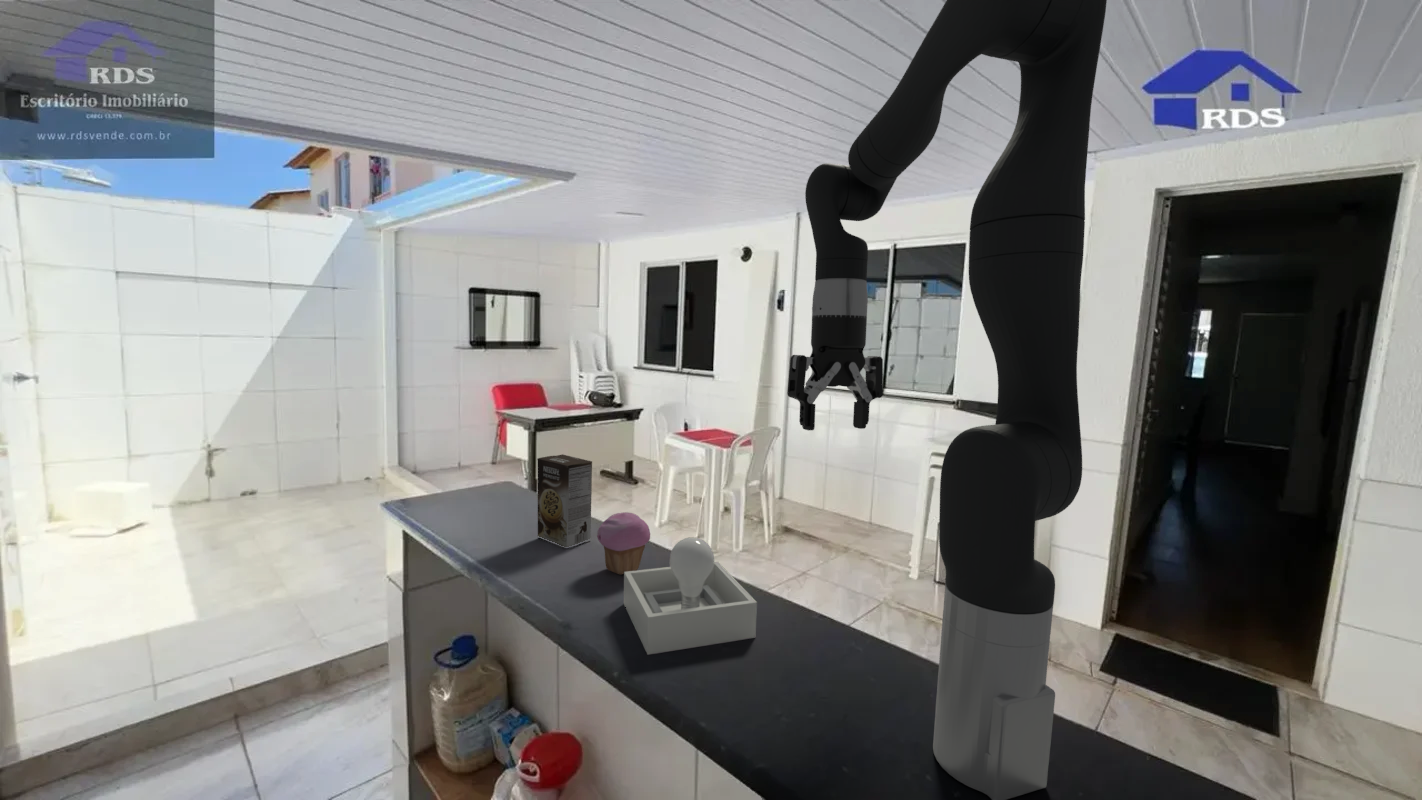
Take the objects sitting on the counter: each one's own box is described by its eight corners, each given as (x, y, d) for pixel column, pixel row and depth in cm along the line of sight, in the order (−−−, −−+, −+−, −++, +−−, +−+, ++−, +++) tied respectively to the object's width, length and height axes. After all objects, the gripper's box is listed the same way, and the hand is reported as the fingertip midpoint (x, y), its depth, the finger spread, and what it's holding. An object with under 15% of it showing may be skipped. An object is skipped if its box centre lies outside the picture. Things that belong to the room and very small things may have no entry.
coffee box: (535, 539, 116) (535, 457, 115) (562, 531, 122) (562, 453, 120) (566, 550, 111) (566, 465, 109) (592, 541, 116) (593, 459, 114)
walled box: (755, 637, 81) (756, 602, 80) (647, 654, 76) (648, 617, 75) (717, 591, 95) (717, 561, 94) (623, 603, 90) (624, 571, 89)
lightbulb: (707, 626, 81) (710, 548, 80) (662, 620, 83) (664, 543, 81) (716, 606, 88) (719, 533, 86) (674, 600, 89) (676, 529, 88)
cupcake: (633, 557, 108) (634, 503, 107) (658, 573, 101) (660, 516, 100) (588, 568, 103) (588, 511, 102) (612, 585, 96) (613, 525, 95)
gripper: (808, 311, 77) (804, 434, 79) (898, 315, 82) (892, 431, 84) (781, 313, 84) (777, 426, 86) (865, 316, 89) (860, 423, 91)
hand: (834, 428), depth 85 cm, fingers open, 8 cm apart
